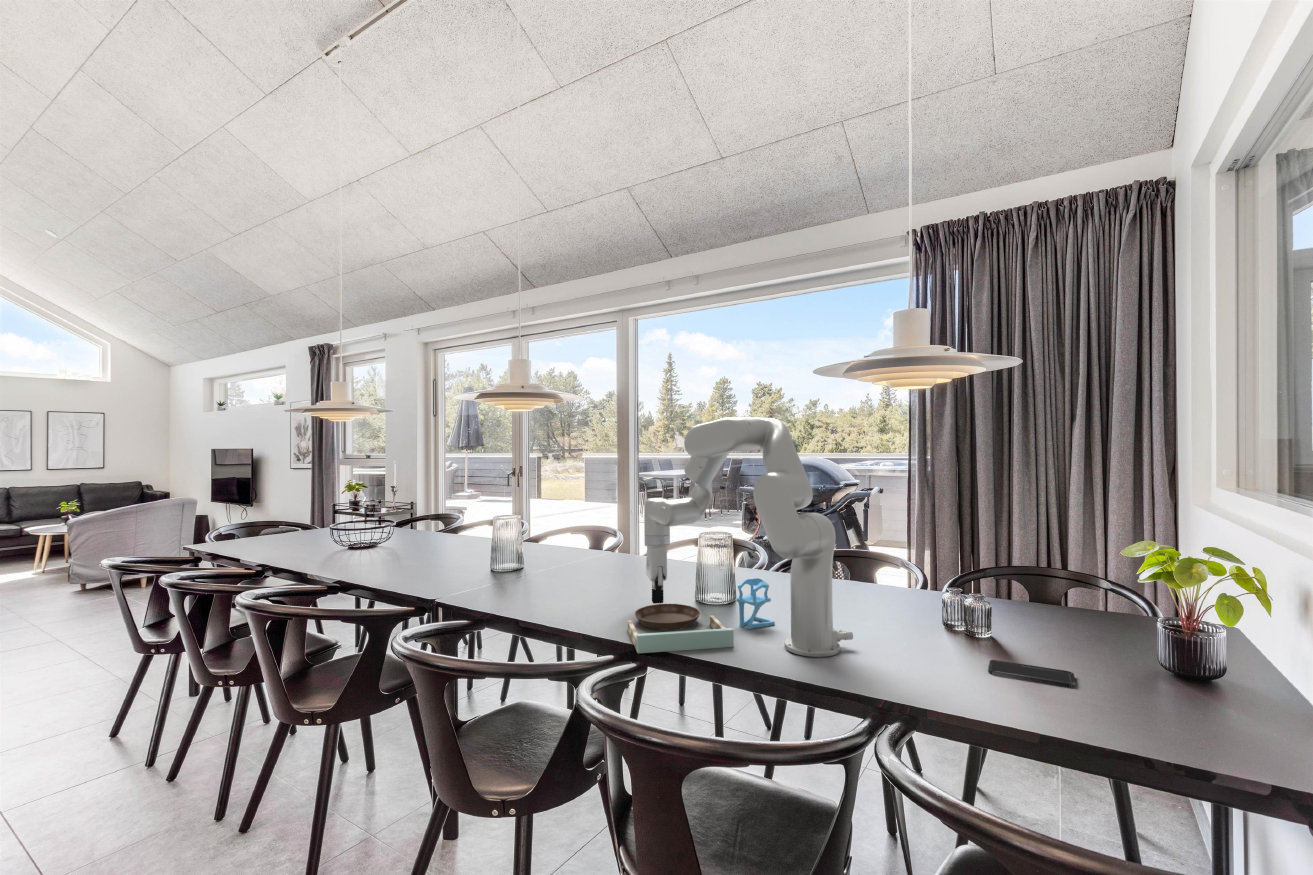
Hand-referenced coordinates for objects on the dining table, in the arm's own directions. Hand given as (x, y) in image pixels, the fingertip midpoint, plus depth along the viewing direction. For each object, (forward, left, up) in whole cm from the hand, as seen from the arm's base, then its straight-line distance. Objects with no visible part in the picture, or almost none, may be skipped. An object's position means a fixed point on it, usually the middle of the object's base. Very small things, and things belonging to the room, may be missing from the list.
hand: (657, 602), depth 181 cm
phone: (-66, +67, -2) cm, 94 cm away
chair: (-22, +22, -2) cm, 31 cm away
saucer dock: (0, +29, -2) cm, 29 cm away
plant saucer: (0, +15, -2) cm, 15 cm away
